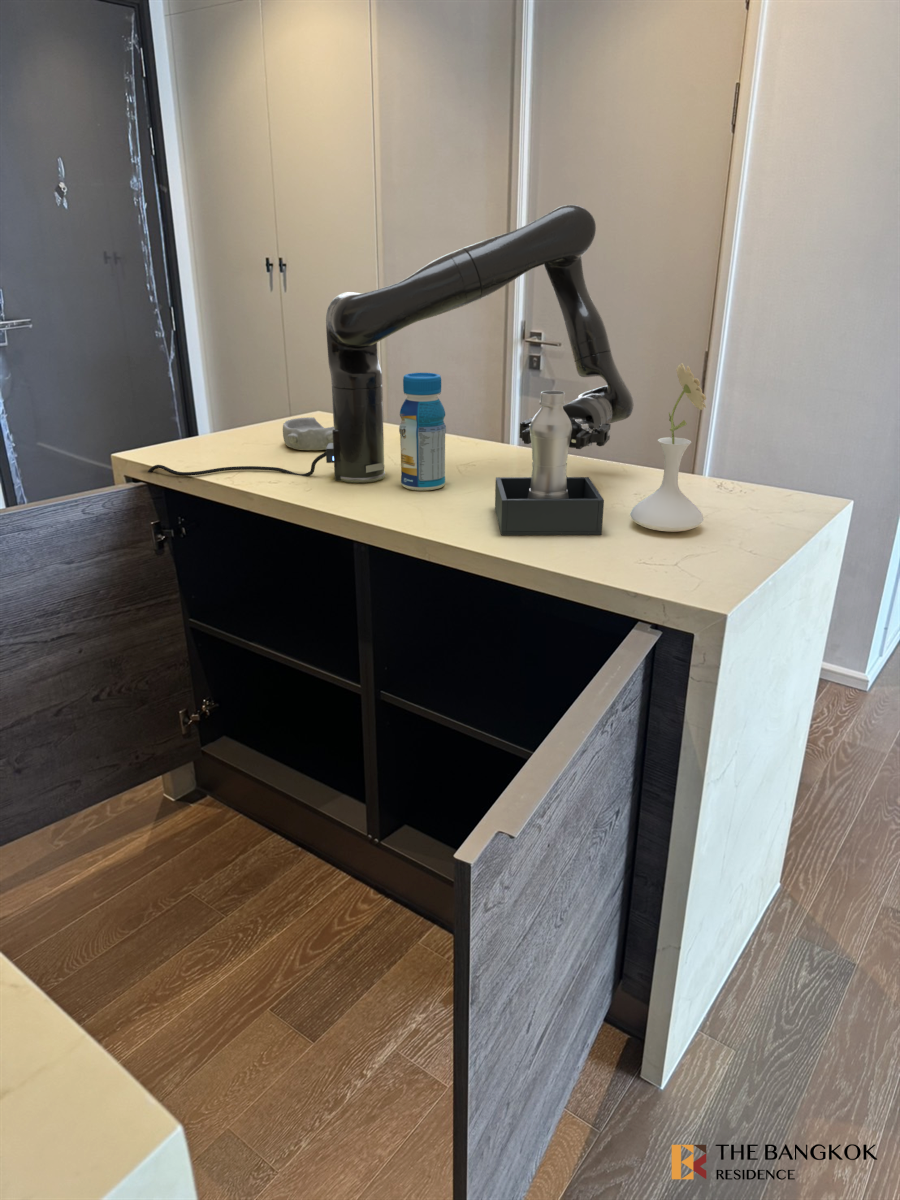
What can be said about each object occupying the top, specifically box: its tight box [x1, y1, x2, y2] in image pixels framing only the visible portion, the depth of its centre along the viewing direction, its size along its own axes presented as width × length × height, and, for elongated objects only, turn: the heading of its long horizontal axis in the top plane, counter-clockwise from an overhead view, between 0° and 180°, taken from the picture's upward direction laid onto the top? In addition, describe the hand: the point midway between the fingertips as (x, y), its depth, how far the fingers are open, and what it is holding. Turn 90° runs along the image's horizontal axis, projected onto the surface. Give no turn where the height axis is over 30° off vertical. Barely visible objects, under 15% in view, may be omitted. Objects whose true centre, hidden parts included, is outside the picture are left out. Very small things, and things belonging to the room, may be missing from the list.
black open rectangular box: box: [494, 476, 605, 536], centre depth 138 cm, size 16×14×6 cm
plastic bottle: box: [528, 390, 572, 499], centre depth 135 cm, size 6×7×20 cm
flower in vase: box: [629, 362, 707, 533], centre depth 133 cm, size 13×11×25 cm
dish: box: [282, 416, 334, 451], centre depth 188 cm, size 14×14×5 cm
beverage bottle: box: [398, 372, 447, 492], centre depth 155 cm, size 8×8×20 cm
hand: (551, 440), depth 135 cm, fingers open, 8 cm apart
